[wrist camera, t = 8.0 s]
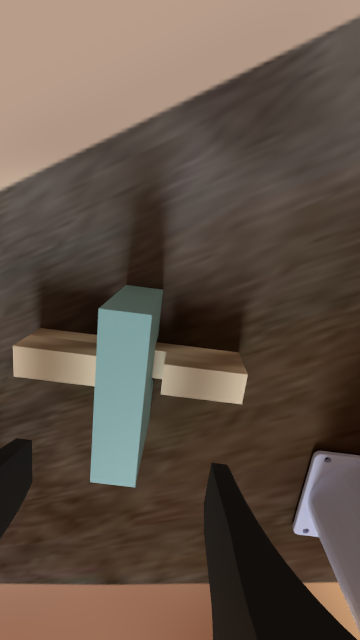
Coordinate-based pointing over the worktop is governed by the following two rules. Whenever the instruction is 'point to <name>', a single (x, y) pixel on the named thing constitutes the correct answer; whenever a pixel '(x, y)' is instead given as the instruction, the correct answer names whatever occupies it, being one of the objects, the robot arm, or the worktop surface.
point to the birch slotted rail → (169, 365)
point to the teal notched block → (123, 383)
